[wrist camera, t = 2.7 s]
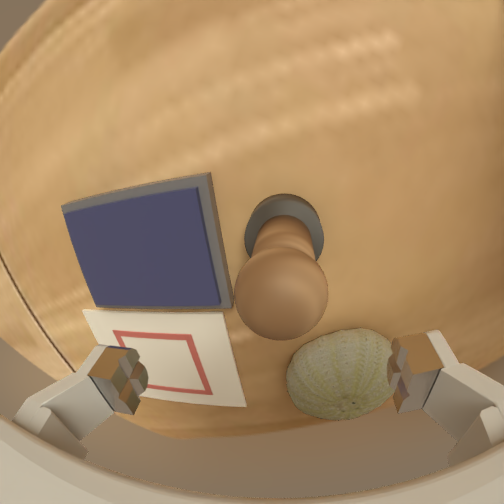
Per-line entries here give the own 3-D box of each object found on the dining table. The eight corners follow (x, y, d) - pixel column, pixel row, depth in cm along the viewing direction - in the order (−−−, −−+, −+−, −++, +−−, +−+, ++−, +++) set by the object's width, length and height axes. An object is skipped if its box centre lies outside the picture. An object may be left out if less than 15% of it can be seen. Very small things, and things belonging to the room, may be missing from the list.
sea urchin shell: (270, 340, 19) (365, 400, 13) (340, 293, 23) (423, 327, 17) (277, 411, 23) (344, 461, 17) (334, 366, 27) (397, 401, 21)
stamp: (318, 190, 16) (347, 258, 8) (321, 258, 18) (341, 363, 10) (244, 197, 17) (201, 268, 9) (254, 263, 19) (227, 367, 10)
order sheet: (223, 311, 21) (222, 314, 20) (246, 404, 25) (246, 407, 25) (83, 309, 23) (81, 311, 23) (129, 391, 28) (128, 394, 27)
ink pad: (210, 172, 16) (203, 176, 15) (234, 299, 20) (230, 312, 19) (68, 202, 18) (56, 207, 17) (102, 300, 22) (93, 310, 21)
